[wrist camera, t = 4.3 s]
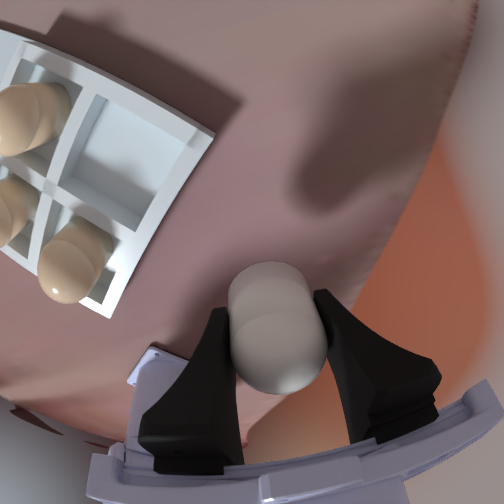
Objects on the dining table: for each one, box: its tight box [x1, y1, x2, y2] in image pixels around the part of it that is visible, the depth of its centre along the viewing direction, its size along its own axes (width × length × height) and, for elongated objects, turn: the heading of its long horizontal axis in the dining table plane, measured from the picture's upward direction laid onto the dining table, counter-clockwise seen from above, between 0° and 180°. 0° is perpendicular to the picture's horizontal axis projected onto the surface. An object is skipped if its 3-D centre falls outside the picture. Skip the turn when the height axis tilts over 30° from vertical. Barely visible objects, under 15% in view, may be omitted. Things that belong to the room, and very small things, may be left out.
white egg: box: [228, 261, 328, 395], centre depth 12 cm, size 4×4×6 cm
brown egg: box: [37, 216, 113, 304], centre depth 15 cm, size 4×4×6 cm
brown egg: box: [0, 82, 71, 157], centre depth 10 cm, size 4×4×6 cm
